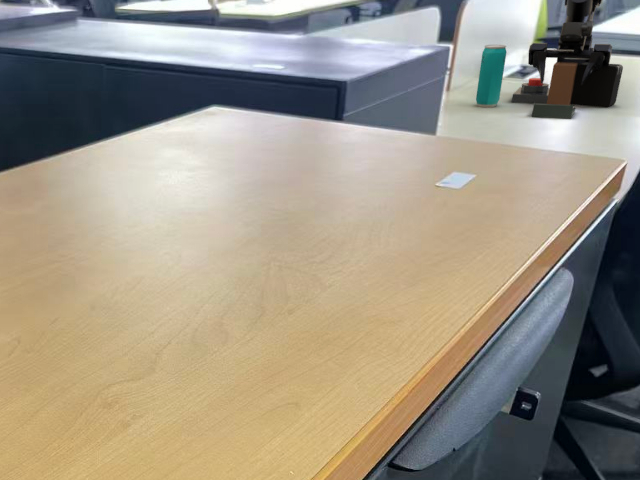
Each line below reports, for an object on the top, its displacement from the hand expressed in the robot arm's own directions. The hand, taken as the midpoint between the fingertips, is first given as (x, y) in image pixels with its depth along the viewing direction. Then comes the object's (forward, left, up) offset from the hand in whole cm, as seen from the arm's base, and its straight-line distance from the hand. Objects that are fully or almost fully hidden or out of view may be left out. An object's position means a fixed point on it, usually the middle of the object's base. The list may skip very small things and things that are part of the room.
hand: (561, 82), depth 215 cm
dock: (+5, +5, -7) cm, 9 cm away
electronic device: (-12, -3, -7) cm, 14 cm away
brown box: (-1, -1, -7) cm, 7 cm away
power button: (-4, -16, -3) cm, 16 cm away
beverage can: (+12, -12, -7) cm, 18 cm away
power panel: (-4, -16, -7) cm, 17 cm away
